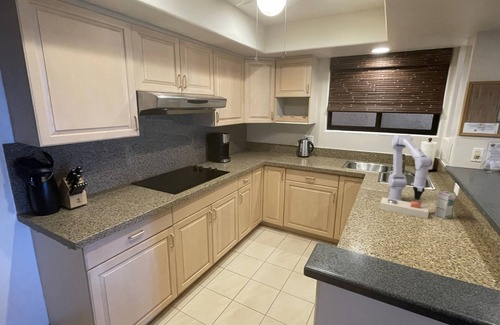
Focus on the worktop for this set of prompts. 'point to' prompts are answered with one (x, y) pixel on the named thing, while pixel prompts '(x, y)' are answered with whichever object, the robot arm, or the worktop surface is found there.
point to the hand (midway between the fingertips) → (416, 199)
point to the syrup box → (445, 204)
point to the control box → (404, 208)
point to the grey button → (392, 201)
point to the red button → (415, 204)
